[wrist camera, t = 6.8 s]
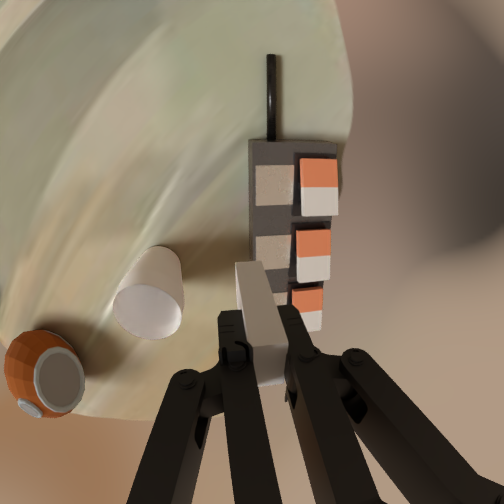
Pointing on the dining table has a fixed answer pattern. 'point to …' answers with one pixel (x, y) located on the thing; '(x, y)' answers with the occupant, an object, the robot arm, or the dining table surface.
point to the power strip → (280, 199)
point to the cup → (151, 295)
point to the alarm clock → (44, 374)
